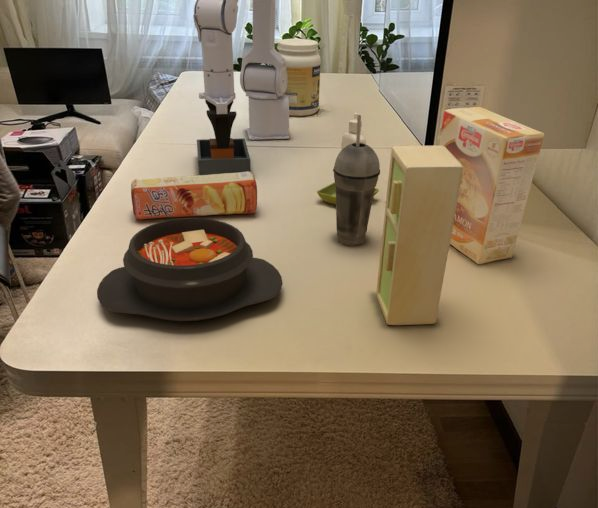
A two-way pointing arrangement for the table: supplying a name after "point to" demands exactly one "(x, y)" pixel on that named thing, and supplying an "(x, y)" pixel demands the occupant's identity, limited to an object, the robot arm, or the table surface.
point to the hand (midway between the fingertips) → (222, 141)
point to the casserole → (188, 272)
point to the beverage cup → (355, 189)
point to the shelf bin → (223, 165)
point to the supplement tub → (301, 75)
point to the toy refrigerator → (417, 232)
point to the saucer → (332, 193)
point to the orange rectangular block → (221, 150)
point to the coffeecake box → (489, 179)
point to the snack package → (194, 195)
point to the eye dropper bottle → (352, 133)
